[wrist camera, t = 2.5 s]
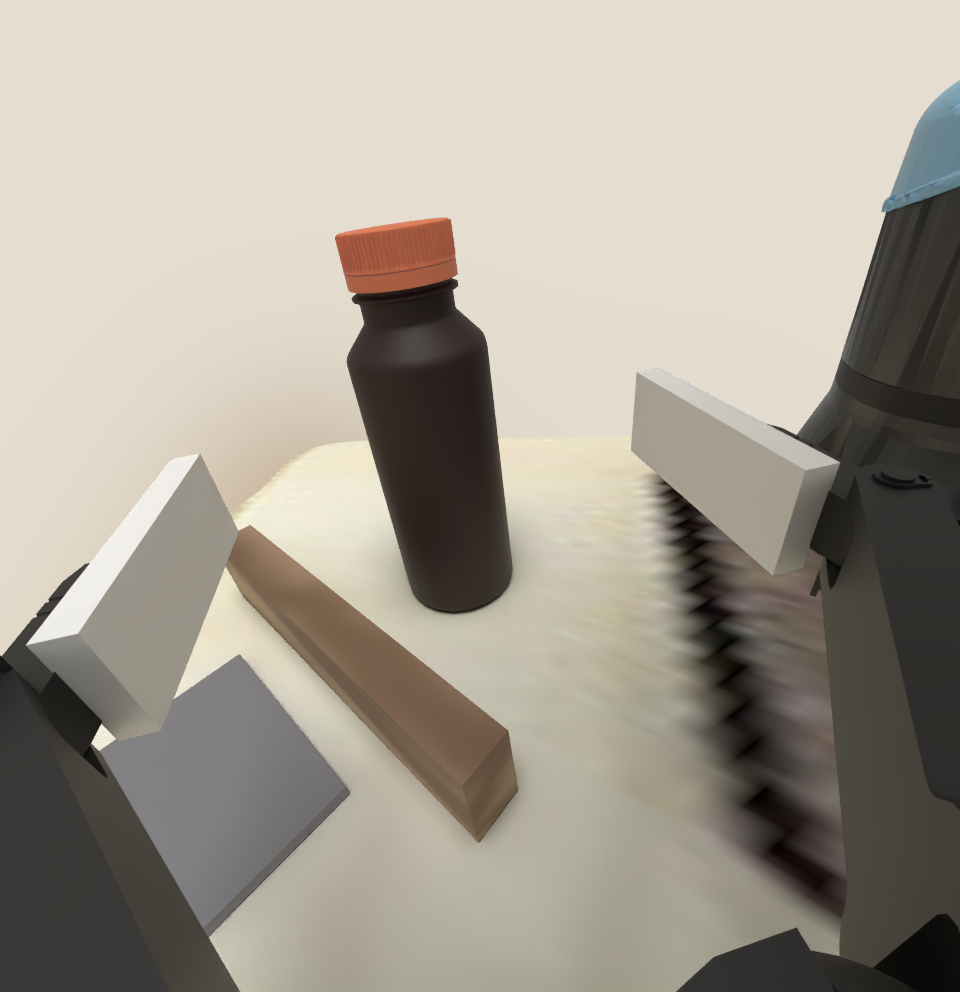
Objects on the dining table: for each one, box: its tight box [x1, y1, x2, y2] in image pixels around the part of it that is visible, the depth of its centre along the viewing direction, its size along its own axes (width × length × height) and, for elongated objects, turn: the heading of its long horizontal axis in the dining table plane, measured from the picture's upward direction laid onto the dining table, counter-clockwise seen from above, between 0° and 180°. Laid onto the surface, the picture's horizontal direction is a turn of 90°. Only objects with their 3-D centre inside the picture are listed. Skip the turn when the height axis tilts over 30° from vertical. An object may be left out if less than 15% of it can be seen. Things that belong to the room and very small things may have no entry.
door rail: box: [226, 525, 518, 842], centre depth 24 cm, size 2×22×4 cm, turn 48°
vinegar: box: [335, 218, 513, 612], centre depth 25 cm, size 7×7×20 cm
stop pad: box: [99, 654, 350, 936], centre depth 20 cm, size 11×11×1 cm
